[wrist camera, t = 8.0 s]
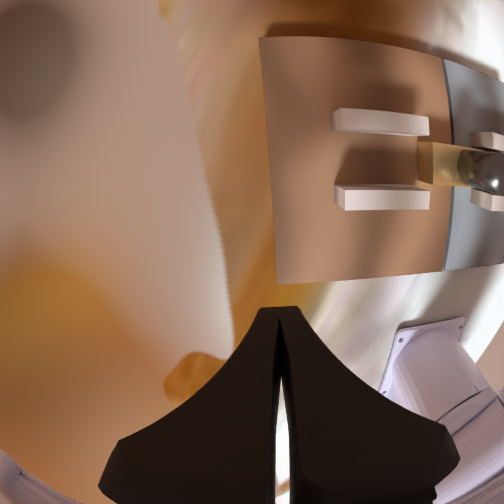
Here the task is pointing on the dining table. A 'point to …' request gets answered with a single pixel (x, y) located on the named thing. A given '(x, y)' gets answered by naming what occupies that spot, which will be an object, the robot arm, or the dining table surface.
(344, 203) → the two-tone tabbed panel
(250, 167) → the dining table surface
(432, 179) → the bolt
